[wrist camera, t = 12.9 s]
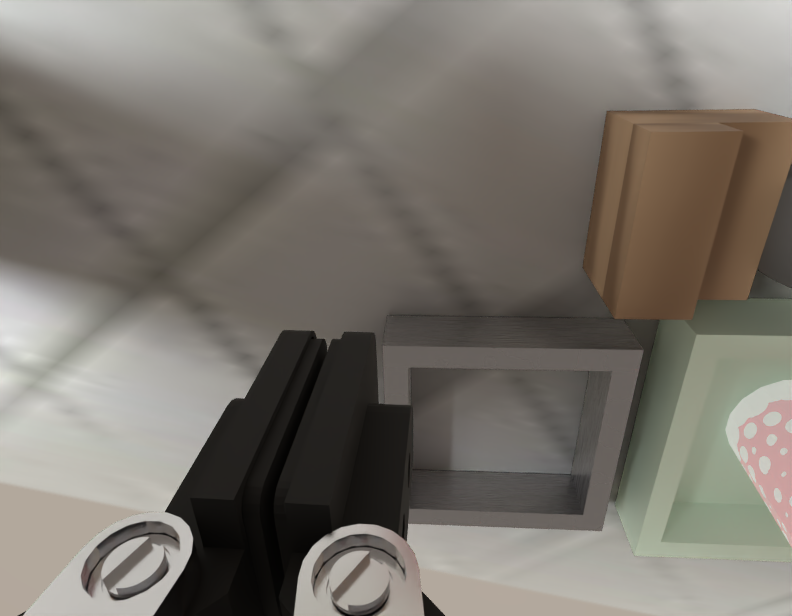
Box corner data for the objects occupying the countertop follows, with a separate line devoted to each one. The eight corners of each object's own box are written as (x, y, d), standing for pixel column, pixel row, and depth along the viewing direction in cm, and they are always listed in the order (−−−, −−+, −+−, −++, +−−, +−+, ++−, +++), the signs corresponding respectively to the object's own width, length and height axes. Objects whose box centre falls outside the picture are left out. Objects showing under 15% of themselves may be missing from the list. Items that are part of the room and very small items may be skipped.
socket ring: (392, 483, 28) (389, 522, 26) (387, 315, 23) (382, 345, 21) (588, 489, 27) (601, 530, 25) (623, 318, 22) (643, 349, 20)
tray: (614, 504, 27) (634, 555, 25) (664, 297, 22) (696, 334, 19) (859, 513, 27) (906, 567, 24) (976, 300, 21) (1054, 339, 18)
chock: (581, 265, 22) (614, 319, 18) (605, 110, 19) (651, 132, 15) (708, 266, 21) (771, 320, 17) (751, 108, 19) (838, 130, 15)
